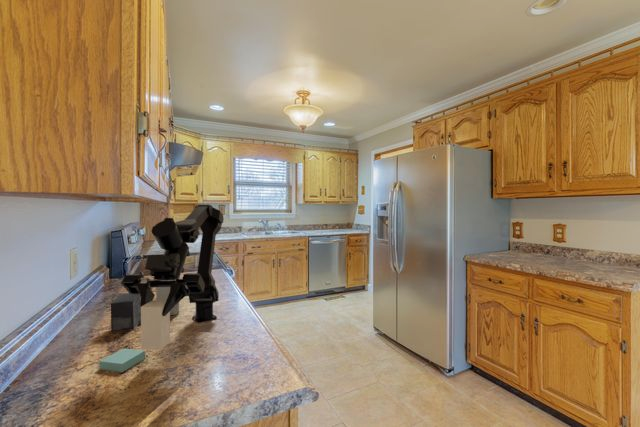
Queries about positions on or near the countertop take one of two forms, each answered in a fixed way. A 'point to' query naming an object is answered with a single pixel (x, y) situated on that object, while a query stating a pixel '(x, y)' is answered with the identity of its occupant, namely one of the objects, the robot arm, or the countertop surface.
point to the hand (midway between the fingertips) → (152, 315)
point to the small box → (125, 312)
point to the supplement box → (163, 295)
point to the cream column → (154, 326)
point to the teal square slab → (122, 360)
